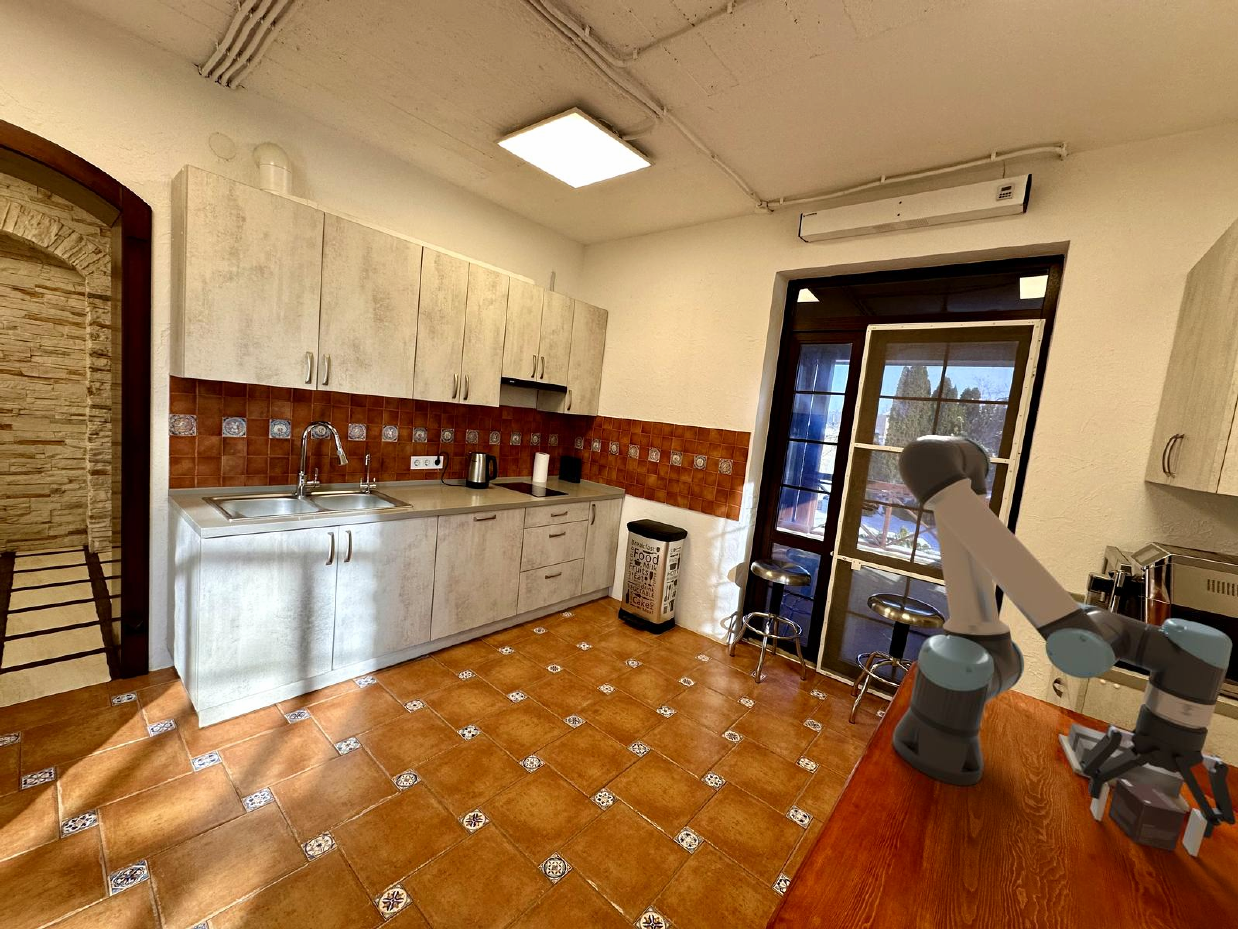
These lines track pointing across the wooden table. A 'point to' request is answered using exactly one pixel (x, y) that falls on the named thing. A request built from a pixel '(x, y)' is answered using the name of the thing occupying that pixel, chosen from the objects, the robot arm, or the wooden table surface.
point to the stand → (1086, 739)
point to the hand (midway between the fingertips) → (1140, 831)
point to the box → (1146, 814)
